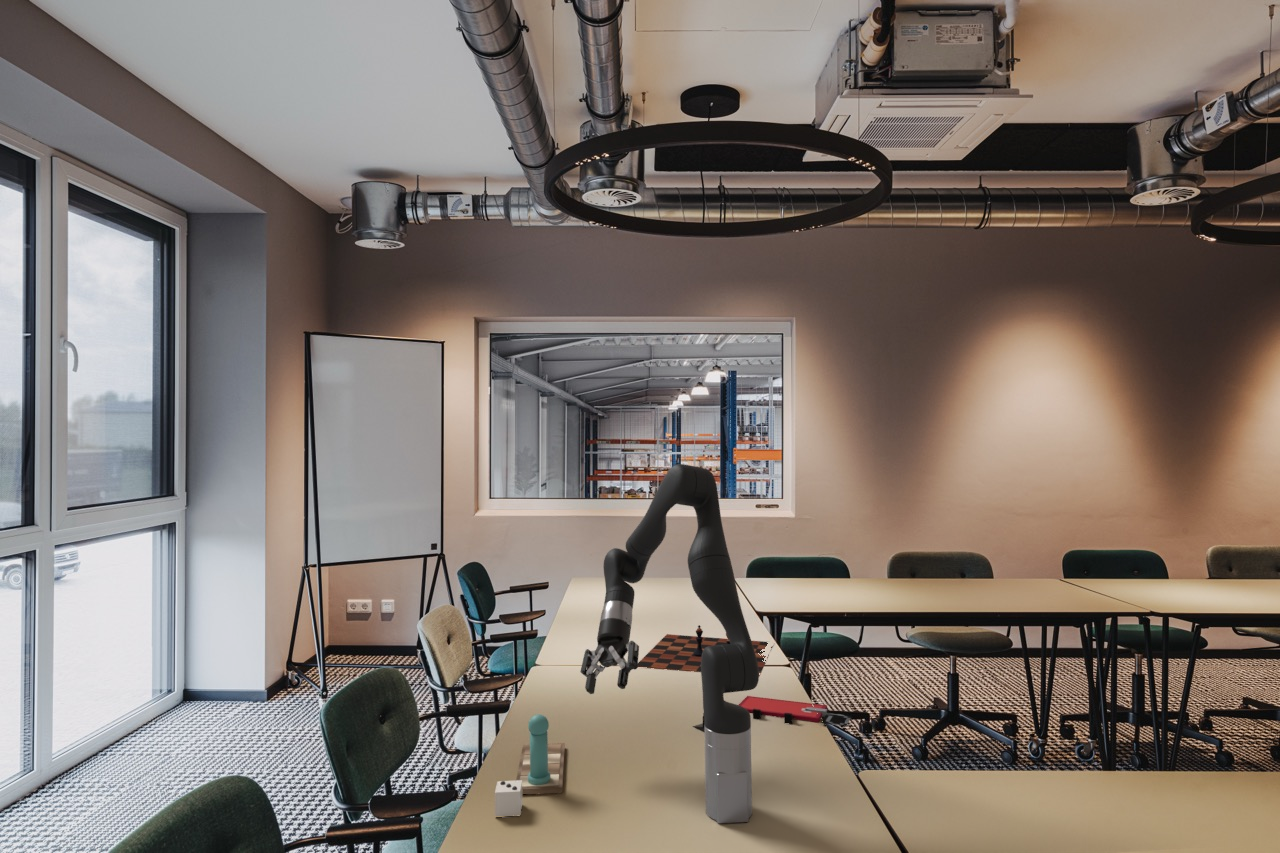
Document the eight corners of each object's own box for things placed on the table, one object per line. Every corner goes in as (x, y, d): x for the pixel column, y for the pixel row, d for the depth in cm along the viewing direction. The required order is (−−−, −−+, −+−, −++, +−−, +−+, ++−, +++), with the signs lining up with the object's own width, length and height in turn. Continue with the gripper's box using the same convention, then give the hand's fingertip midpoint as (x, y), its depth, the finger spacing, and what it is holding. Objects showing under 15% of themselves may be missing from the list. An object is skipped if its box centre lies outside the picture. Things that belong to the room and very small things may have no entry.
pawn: (549, 784, 166) (549, 718, 166) (527, 785, 165) (526, 719, 165) (550, 774, 170) (550, 710, 171) (528, 775, 170) (527, 711, 170)
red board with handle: (845, 732, 196) (855, 713, 209) (844, 721, 196) (854, 703, 209) (731, 717, 208) (747, 700, 222) (730, 706, 208) (747, 690, 222)
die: (520, 816, 155) (520, 788, 155) (495, 817, 155) (494, 790, 155) (522, 804, 160) (522, 777, 160) (497, 805, 160) (497, 778, 160)
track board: (562, 793, 165) (562, 786, 165) (514, 795, 164) (514, 788, 164) (564, 748, 188) (564, 742, 188) (523, 749, 187) (522, 744, 187)
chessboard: (635, 668, 252) (635, 634, 252) (666, 637, 290) (666, 607, 290) (759, 679, 241) (759, 644, 241) (774, 645, 279) (774, 614, 279)
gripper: (582, 622, 186) (570, 687, 175) (631, 611, 179) (622, 678, 168) (599, 637, 190) (589, 701, 179) (649, 627, 184) (641, 693, 173)
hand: (605, 690), depth 174 cm, fingers open, 8 cm apart
